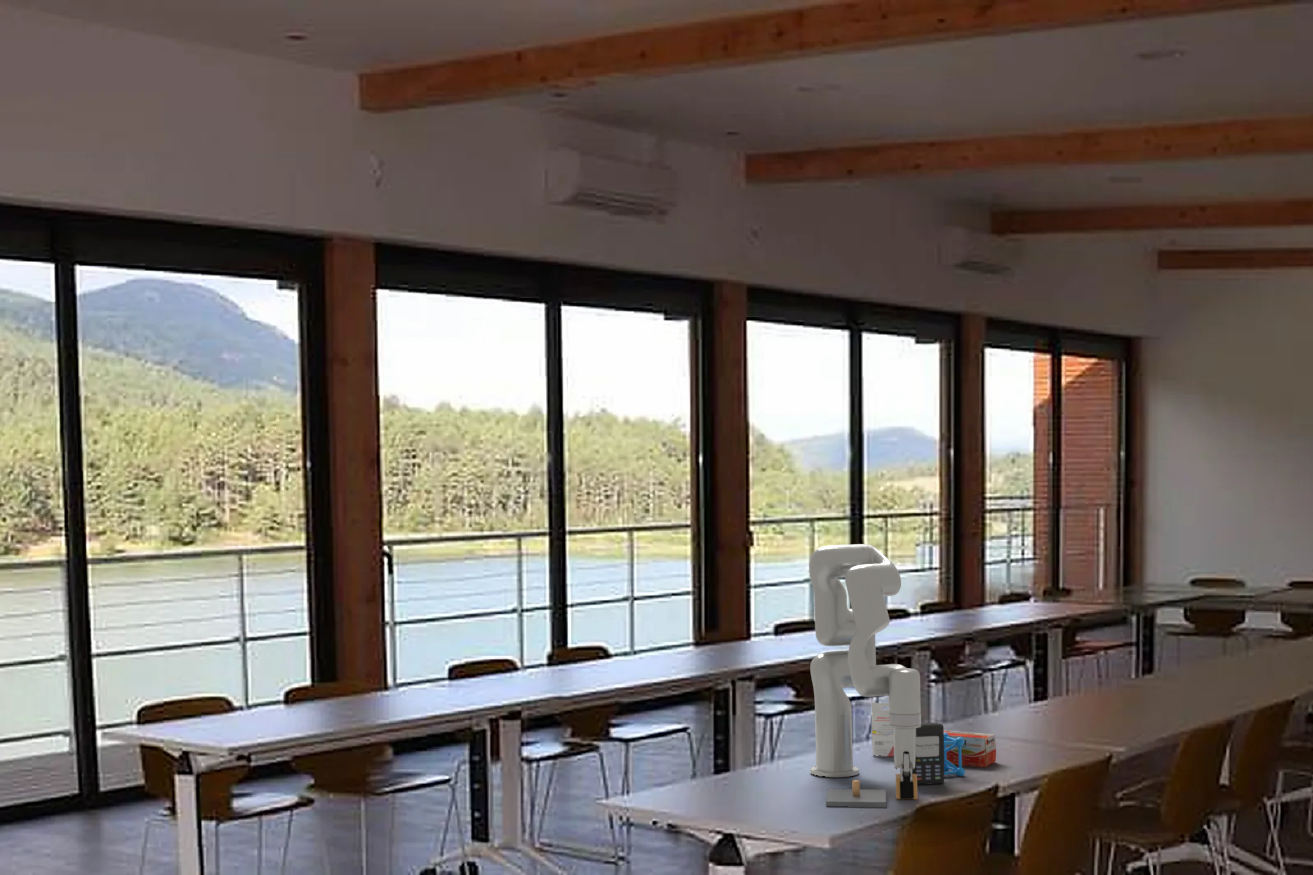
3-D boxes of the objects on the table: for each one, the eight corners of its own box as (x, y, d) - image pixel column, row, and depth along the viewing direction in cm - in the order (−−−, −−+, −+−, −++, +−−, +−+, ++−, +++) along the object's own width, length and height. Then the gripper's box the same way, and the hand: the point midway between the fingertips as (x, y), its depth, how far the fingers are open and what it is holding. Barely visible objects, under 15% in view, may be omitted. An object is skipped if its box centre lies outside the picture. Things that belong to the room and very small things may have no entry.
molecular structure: (966, 776, 393) (965, 737, 393) (932, 780, 390) (931, 740, 390) (946, 769, 403) (946, 731, 403) (913, 773, 399) (912, 734, 400)
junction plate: (827, 794, 374) (827, 774, 374) (885, 794, 372) (885, 775, 373) (826, 806, 361) (825, 786, 361) (886, 807, 359) (885, 787, 359)
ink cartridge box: (903, 753, 426) (902, 700, 427) (903, 757, 422) (902, 703, 422) (872, 753, 428) (871, 700, 428) (872, 756, 423) (871, 703, 423)
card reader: (910, 786, 382) (909, 725, 383) (905, 783, 386) (904, 723, 387) (945, 784, 384) (944, 724, 384) (940, 781, 388) (939, 721, 388)
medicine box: (996, 763, 411) (995, 733, 411) (986, 768, 404) (986, 738, 404) (942, 758, 419) (942, 729, 419) (932, 763, 412) (931, 734, 412)
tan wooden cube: (896, 794, 373) (895, 774, 373) (916, 794, 372) (916, 774, 372) (896, 799, 368) (895, 778, 368) (917, 799, 367) (917, 778, 367)
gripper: (889, 714, 379) (890, 788, 379) (889, 725, 362) (891, 803, 362) (919, 714, 378) (921, 788, 378) (922, 726, 361) (923, 803, 361)
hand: (906, 795), depth 370 cm, fingers closed on tan wooden cube, 5 cm apart
